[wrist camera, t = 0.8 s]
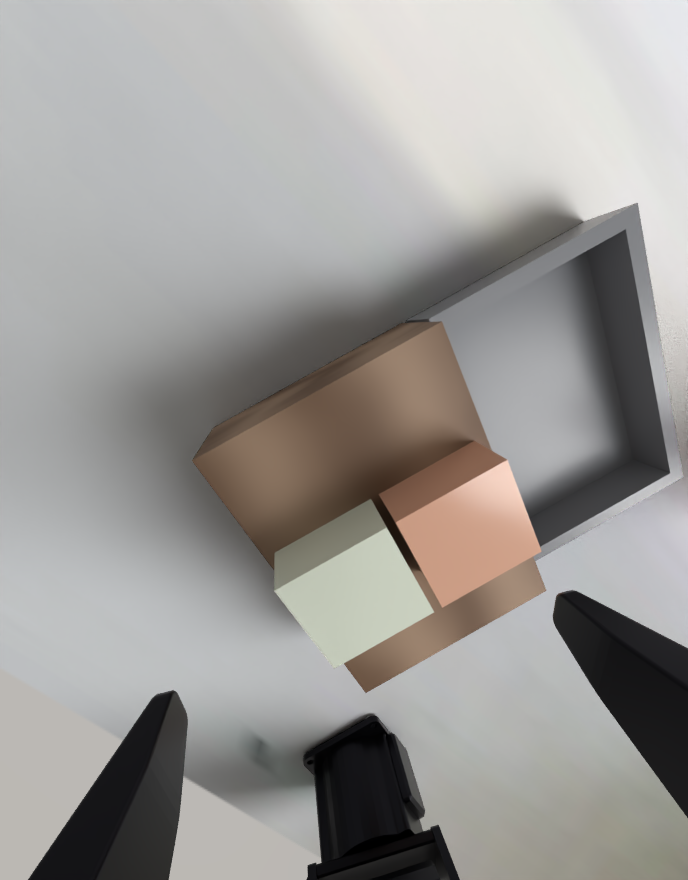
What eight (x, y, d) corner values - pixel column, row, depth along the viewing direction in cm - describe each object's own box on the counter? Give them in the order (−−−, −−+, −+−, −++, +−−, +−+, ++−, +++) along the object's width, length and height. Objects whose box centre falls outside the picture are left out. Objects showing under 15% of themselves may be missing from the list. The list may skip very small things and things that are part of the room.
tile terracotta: (420, 571, 18) (442, 607, 16) (378, 494, 16) (395, 522, 14) (507, 522, 18) (541, 551, 16) (474, 440, 16) (507, 459, 14)
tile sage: (326, 624, 18) (334, 668, 16) (274, 552, 16) (274, 590, 14) (413, 575, 18) (434, 612, 16) (370, 498, 16) (386, 527, 14)
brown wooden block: (348, 623, 24) (365, 692, 20) (213, 427, 19) (192, 460, 14) (494, 540, 25) (546, 590, 20) (401, 323, 19) (441, 321, 14)
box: (498, 538, 25) (527, 565, 22) (406, 320, 19) (428, 319, 16) (637, 460, 25) (683, 477, 22) (584, 221, 19) (637, 202, 16)
